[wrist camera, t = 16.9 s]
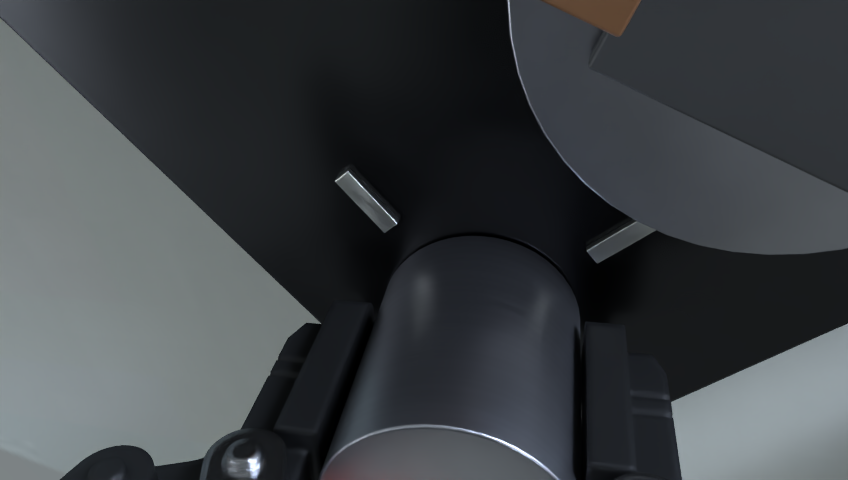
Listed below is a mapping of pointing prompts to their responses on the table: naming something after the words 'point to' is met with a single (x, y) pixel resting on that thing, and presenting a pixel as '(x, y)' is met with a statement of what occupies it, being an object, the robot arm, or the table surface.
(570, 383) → the hob knob
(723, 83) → the spatula
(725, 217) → the burner
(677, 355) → the hob
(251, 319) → the table surface
